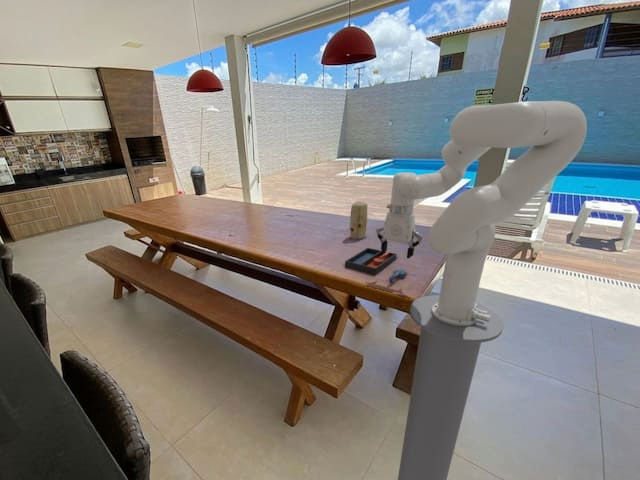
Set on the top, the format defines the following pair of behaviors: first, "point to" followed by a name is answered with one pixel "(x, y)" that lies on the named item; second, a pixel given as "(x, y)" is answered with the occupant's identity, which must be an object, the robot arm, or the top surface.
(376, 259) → the terracotta spoon
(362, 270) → the sorting tray
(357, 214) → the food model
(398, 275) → the blue spoon
